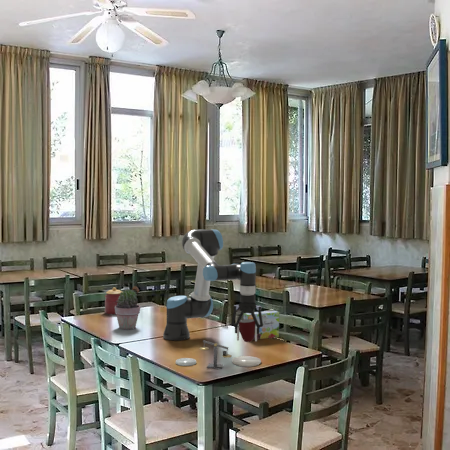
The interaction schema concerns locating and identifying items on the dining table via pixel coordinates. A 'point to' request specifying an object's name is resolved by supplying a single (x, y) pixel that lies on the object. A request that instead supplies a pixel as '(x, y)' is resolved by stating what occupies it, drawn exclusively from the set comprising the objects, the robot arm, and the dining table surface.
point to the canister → (111, 300)
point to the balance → (215, 365)
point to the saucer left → (185, 361)
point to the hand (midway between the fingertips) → (246, 340)
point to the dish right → (246, 361)
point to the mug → (247, 329)
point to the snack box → (266, 324)
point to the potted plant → (127, 309)
